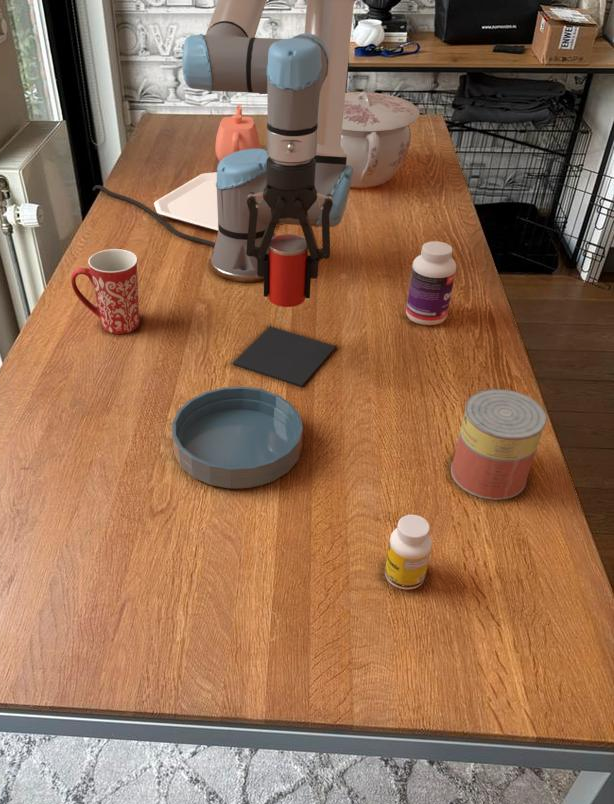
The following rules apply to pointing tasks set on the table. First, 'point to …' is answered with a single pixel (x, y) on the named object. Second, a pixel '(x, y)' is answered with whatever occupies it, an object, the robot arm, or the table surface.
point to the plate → (192, 202)
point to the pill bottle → (431, 284)
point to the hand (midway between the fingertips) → (287, 293)
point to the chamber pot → (375, 135)
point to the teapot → (236, 135)
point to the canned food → (497, 443)
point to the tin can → (287, 270)
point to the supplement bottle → (408, 552)
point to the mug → (113, 289)
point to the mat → (285, 356)
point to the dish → (237, 437)
